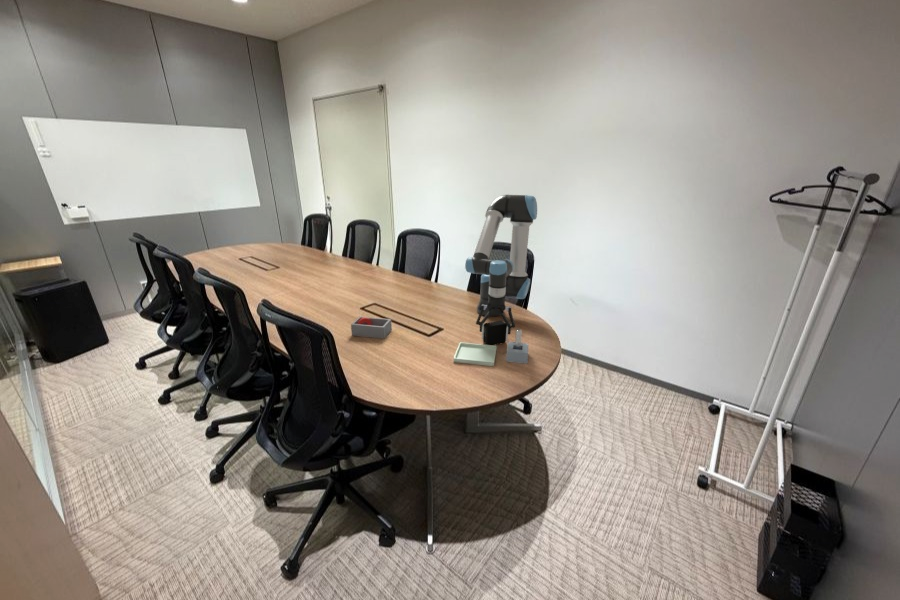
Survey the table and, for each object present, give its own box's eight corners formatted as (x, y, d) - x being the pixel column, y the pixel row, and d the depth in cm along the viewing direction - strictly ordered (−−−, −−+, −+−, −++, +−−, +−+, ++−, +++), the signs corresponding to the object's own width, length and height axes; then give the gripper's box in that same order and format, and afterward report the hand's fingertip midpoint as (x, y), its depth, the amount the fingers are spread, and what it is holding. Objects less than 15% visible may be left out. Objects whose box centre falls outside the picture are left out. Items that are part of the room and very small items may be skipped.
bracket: (361, 336, 179) (359, 322, 176) (358, 333, 183) (356, 318, 180) (384, 331, 185) (383, 317, 182) (381, 328, 188) (380, 314, 185)
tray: (459, 345, 170) (459, 342, 169) (496, 349, 167) (496, 345, 166) (453, 361, 156) (453, 358, 155) (493, 366, 153) (493, 362, 152)
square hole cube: (507, 351, 165) (507, 341, 163) (527, 353, 163) (528, 343, 161) (506, 361, 156) (506, 351, 155) (527, 363, 155) (528, 353, 153)
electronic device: (482, 342, 173) (483, 323, 169) (501, 339, 176) (502, 320, 173) (486, 346, 169) (487, 326, 166) (505, 342, 172) (507, 323, 169)
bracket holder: (360, 327, 188) (359, 316, 186) (391, 330, 185) (391, 319, 183) (352, 335, 179) (350, 324, 177) (384, 338, 176) (383, 327, 174)
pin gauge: (514, 353, 161) (516, 329, 156) (520, 354, 160) (521, 329, 156) (514, 356, 158) (516, 331, 154) (519, 357, 158) (521, 331, 154)
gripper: (470, 296, 163) (469, 340, 171) (522, 299, 159) (519, 344, 166) (472, 290, 170) (471, 333, 178) (523, 294, 165) (519, 337, 173)
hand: (494, 338), depth 172 cm, fingers closed on electronic device, 11 cm apart
